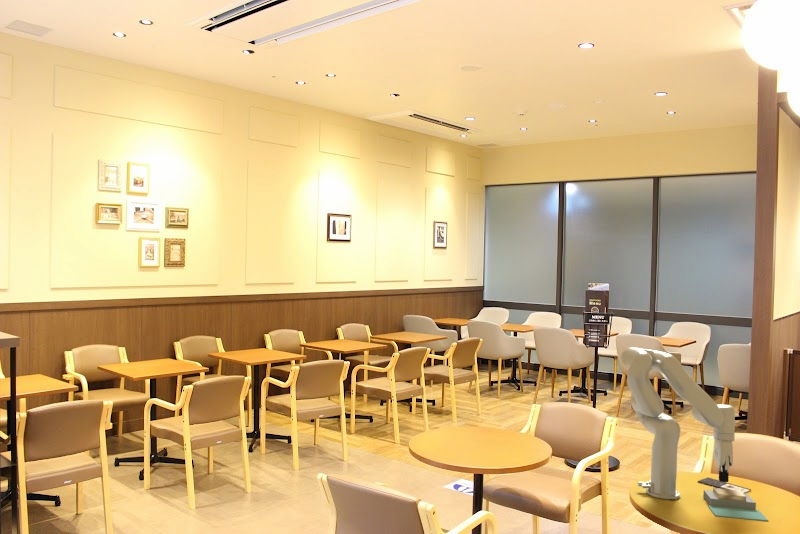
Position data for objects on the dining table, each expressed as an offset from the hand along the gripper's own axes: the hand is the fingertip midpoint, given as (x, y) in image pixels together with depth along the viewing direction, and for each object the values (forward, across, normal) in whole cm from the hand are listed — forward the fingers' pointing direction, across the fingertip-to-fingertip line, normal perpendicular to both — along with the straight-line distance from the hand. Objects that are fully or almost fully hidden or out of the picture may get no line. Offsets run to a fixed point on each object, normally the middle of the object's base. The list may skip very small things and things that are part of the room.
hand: (723, 481), depth 266 cm
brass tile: (+3, +10, -1) cm, 11 cm away
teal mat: (+6, +20, -1) cm, 21 cm away
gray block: (+6, +10, -1) cm, 12 cm away
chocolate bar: (+6, -12, +4) cm, 14 cm away
